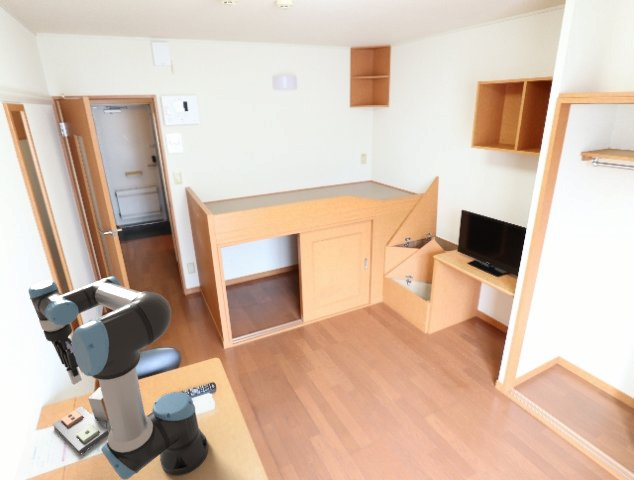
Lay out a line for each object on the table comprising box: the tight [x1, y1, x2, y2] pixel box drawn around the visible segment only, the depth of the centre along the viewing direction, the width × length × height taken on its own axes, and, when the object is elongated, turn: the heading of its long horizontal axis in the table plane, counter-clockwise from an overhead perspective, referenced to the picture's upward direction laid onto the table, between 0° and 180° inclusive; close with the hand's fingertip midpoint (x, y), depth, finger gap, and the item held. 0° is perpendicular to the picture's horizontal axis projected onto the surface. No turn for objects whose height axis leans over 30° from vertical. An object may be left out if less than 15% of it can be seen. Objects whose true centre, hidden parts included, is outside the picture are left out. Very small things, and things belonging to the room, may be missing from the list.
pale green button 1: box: [77, 424, 99, 445], centre depth 132 cm, size 5×5×3 cm
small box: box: [87, 386, 109, 422], centre depth 141 cm, size 8×6×10 cm
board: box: [52, 405, 110, 455], centre depth 135 cm, size 20×10×2 cm, turn 55°
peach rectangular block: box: [60, 409, 83, 429], centre depth 138 cm, size 5×5×3 cm
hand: (76, 381), depth 133 cm, fingers closed
